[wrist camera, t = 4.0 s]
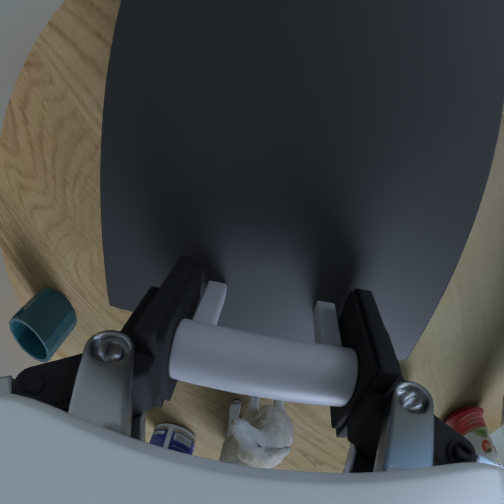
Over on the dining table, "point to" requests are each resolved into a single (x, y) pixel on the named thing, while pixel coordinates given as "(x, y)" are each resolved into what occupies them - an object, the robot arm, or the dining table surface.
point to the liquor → (473, 430)
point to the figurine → (257, 434)
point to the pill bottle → (173, 438)
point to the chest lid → (295, 173)
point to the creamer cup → (43, 324)
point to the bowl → (503, 422)
